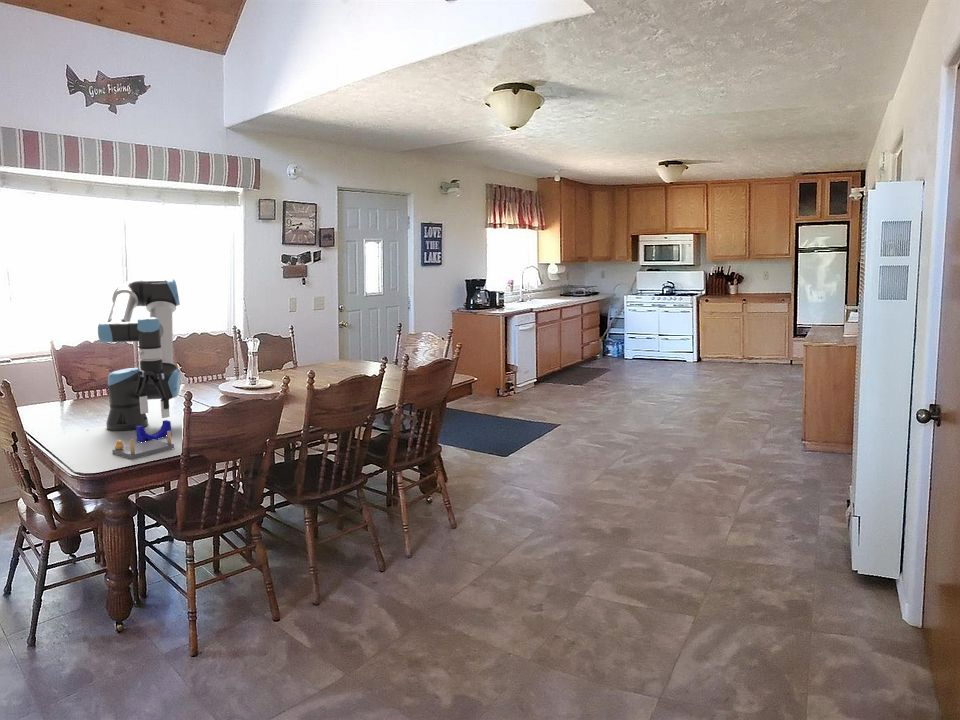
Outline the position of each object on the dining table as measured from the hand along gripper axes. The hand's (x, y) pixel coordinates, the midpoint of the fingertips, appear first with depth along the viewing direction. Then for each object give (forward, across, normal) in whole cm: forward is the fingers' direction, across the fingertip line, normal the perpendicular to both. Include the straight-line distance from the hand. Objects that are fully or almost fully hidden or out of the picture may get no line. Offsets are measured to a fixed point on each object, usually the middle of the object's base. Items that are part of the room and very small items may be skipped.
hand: (154, 415), depth 268 cm
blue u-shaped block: (+10, -1, 0) cm, 10 cm away
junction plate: (+10, +10, -12) cm, 18 cm away
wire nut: (+8, +6, -18) cm, 21 cm away
